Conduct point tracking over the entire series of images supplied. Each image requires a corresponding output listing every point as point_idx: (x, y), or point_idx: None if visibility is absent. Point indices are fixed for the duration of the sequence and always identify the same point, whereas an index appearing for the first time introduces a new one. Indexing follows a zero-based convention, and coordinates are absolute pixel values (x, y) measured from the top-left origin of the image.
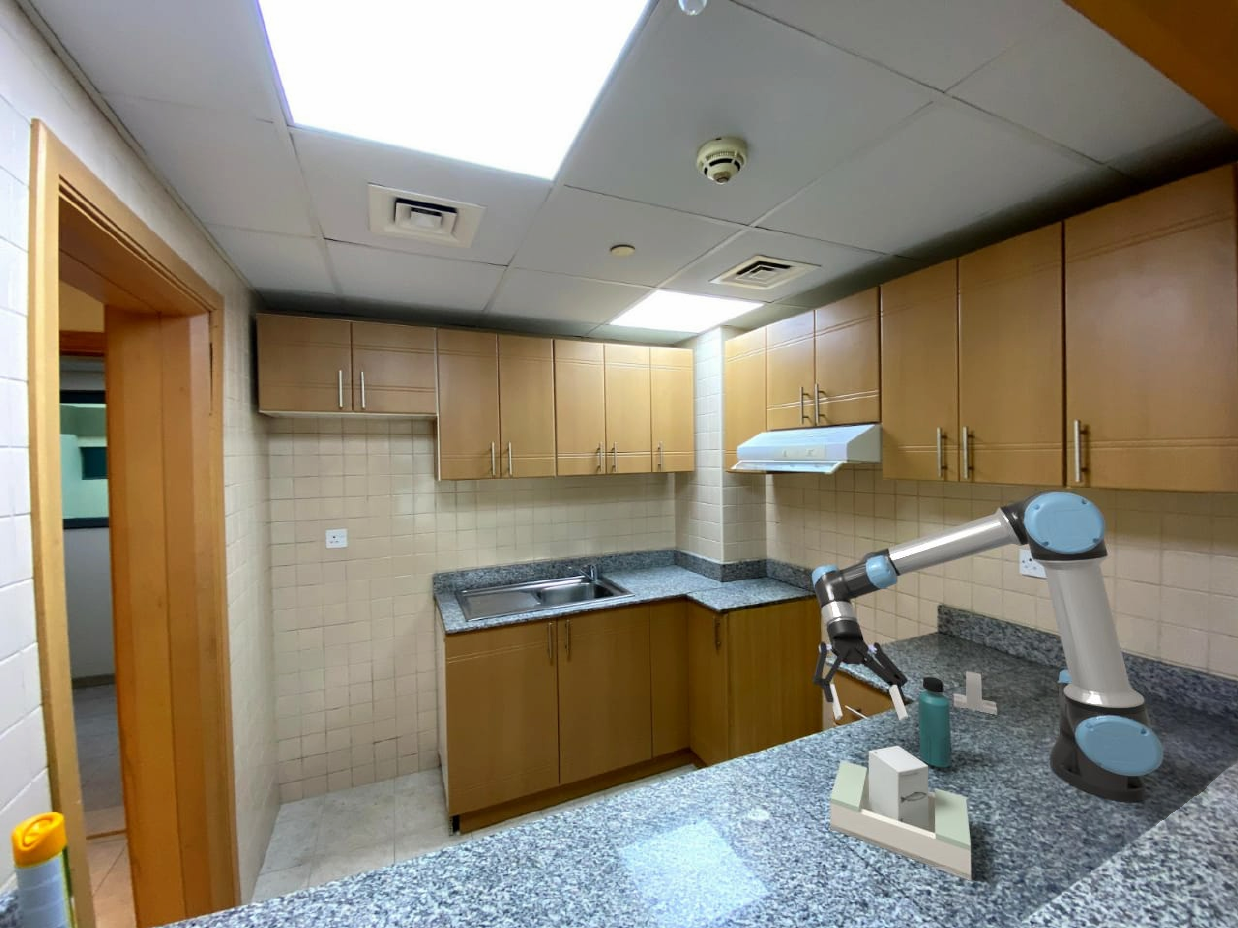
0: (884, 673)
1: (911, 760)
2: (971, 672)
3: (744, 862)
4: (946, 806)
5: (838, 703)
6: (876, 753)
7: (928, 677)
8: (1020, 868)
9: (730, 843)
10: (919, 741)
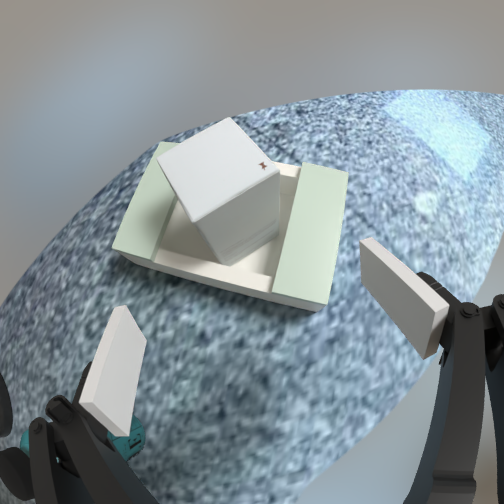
0: (101, 462)
1: (184, 162)
2: None
3: (413, 132)
4: (153, 210)
5: (385, 260)
6: (262, 162)
7: (17, 493)
8: (111, 209)
9: (433, 152)
10: (132, 444)
